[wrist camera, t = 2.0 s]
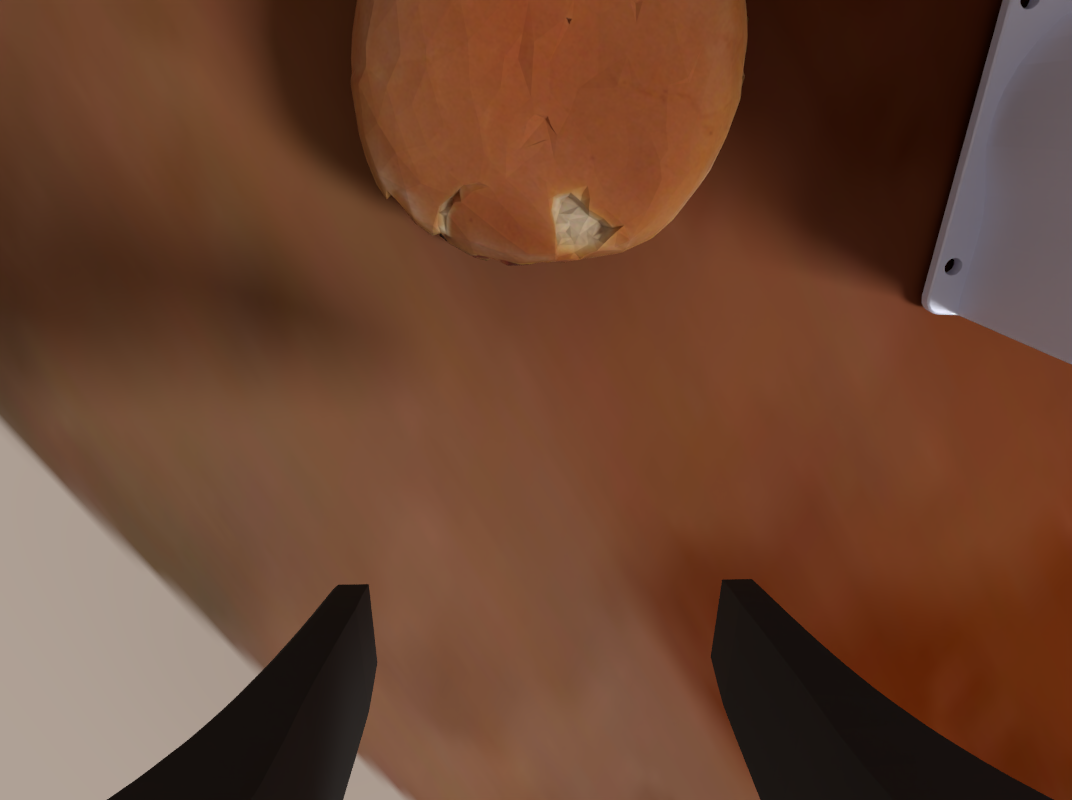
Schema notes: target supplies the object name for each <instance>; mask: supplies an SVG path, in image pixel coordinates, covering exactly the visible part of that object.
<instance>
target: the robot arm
mask: <svg viewBox="0 0 1072 800" xmlns="http://www.w3.org/2000/svg"><path fill="white" fill-rule="evenodd" d="M1020 1H1021V0H1003V1H1002V4H1001V8H1000V12H999V15H998V19H997V23H996V26H995V30H994V34H993V37H992V41H991V45H990V48H989V52H988V56H987V59H986V63H985V67H984V70H983V74H982V78H981V81H980V85H979V89H978V92H977V96H976V100H975V103H974V107H973V111H972V114H971V118H970V121H969V125H968V129H967V132H966V136H965V140H964V143H963V147H962V151H961V154H960V158H959V162H958V165H957V169H956V173H955V176H954V180H953V184H952V187H951V191H950V195H949V198H948V202H947V206H946V209H945V213H944V217H943V220H942V224H941V228H940V231H939V235H938V239H937V242H936V246H935V250H934V253H933V257H932V261H931V264H930V268H929V272H928V275H927V279H926V283H925V286H924V290H923V294H922V301H921V302H922V305H923V307H924V308H925V309H926V310H927V311H929V312H932V313H934V314H938V315H959V316H961V317H964V318H966V319H968V320H971V321H973V322H975V323H977V324H980V325H982V326H984V327H987V328H989V329H991V330H994V331H996V332H998V333H1000V334H1003V335H1005V336H1007V337H1010V338H1012V339H1014V340H1017V341H1019V342H1021V343H1023V344H1026V345H1028V346H1030V347H1033V348H1035V349H1037V350H1040V351H1042V352H1044V353H1046V354H1049V355H1051V356H1053V357H1056V358H1058V359H1060V360H1063V361H1065V362H1067V363H1069V364H1072V0H1030V1H1029V3H1028V5H1027V7H1026V8H1025V9H1024V8H1023V7H1022V6H1021V4H1020ZM951 259H954V265H953V267H952V269H951V270H949V271H948V272H945V265H946V263H947V262H948V261H949V260H951ZM711 659H712V663H713V667H714V671H715V675H716V679H717V683H718V687H719V691H720V694H721V698H722V702H723V705H724V708H725V711H726V713H727V716H728V719H729V721H730V724H731V726H732V729H733V731H734V734H735V736H736V739H737V742H738V744H739V747H740V749H741V752H742V754H743V757H744V759H745V762H746V764H747V767H748V769H749V772H750V774H751V777H752V779H753V782H754V784H755V787H756V789H757V792H758V794H759V797H760V799H761V800H1053V799H1051V798H1049V797H1047V796H1046V795H1044V794H1042V793H1040V792H1038V791H1036V790H1034V789H1032V788H1031V787H1029V786H1027V785H1025V784H1023V783H1021V782H1019V781H1017V780H1016V779H1014V778H1012V777H1010V776H1008V775H1006V774H1005V773H1003V772H1001V771H999V770H998V769H996V768H994V767H992V766H991V765H989V764H987V763H985V762H984V761H982V760H980V759H979V758H977V757H975V756H974V755H972V754H971V753H969V752H967V751H966V750H964V749H962V748H961V747H959V746H958V745H956V744H954V743H953V742H951V741H949V740H948V739H946V738H945V737H943V736H941V735H940V734H938V733H937V732H935V731H934V730H932V729H931V728H929V727H928V726H926V725H925V724H923V723H922V722H920V721H919V720H918V719H916V718H915V717H913V716H912V715H910V714H909V713H908V712H906V711H905V710H903V709H902V708H901V707H899V706H898V705H896V704H895V703H894V702H892V701H891V700H889V699H888V698H887V697H885V696H884V695H883V694H881V693H880V692H879V691H877V690H876V689H875V688H873V687H872V686H871V685H870V684H868V683H867V682H866V681H865V680H864V679H862V678H861V677H860V676H859V675H857V674H856V673H855V672H854V671H852V670H851V669H850V668H849V667H847V666H846V665H845V664H844V663H843V662H841V661H840V660H839V659H838V658H837V657H836V656H834V655H833V654H832V653H831V652H830V651H829V650H828V649H826V648H825V647H824V646H823V645H822V644H821V643H820V642H818V641H817V640H816V639H815V638H814V637H813V636H812V635H811V634H810V633H809V632H807V631H806V630H805V629H804V628H803V627H802V626H801V625H800V624H799V623H798V622H797V621H796V620H794V619H793V618H792V617H791V616H790V615H789V614H788V613H787V612H786V611H785V610H784V609H783V608H782V607H781V606H780V605H779V604H778V603H777V602H775V601H774V600H773V599H772V598H771V597H770V596H769V595H768V594H767V593H766V592H765V591H764V590H763V589H762V588H761V587H760V586H759V585H757V584H756V583H755V582H754V581H753V580H752V579H735V580H722V585H721V592H720V599H719V605H718V612H717V619H716V625H715V632H714V639H713V646H712V652H711ZM376 667H377V656H376V647H375V638H374V629H373V620H372V611H371V602H370V592H369V584H362V585H338V586H336V587H335V588H334V589H333V590H332V592H331V593H330V594H329V595H328V596H327V598H326V599H325V600H324V601H323V602H322V604H321V605H320V606H319V607H318V609H317V610H316V611H315V612H314V613H313V615H312V616H311V617H310V618H309V619H308V620H307V622H306V623H305V624H304V625H303V626H302V628H301V629H300V630H299V631H298V632H297V633H296V635H295V636H294V637H293V638H292V639H291V640H290V641H289V642H288V643H287V645H286V646H285V647H284V648H283V649H282V650H281V651H280V652H279V653H278V655H277V656H276V657H275V658H274V659H273V660H272V661H271V662H270V663H269V664H268V665H267V666H266V667H265V668H264V669H263V671H262V672H261V673H260V674H259V675H258V676H257V677H256V678H255V679H254V680H253V681H252V682H251V683H250V684H249V685H248V686H247V687H246V688H245V689H244V690H243V691H242V692H241V693H240V694H239V695H238V696H237V697H236V698H235V699H234V700H233V701H231V702H230V703H229V704H228V705H227V706H226V707H225V708H224V709H223V710H222V711H221V712H220V713H218V715H216V716H215V717H214V718H213V719H212V720H211V721H210V722H208V723H207V724H206V725H205V726H204V727H203V728H201V730H199V731H198V732H197V733H196V734H195V735H193V736H192V737H191V738H190V739H189V740H187V741H186V742H185V743H184V744H182V745H181V746H180V747H179V748H177V749H176V750H174V751H173V752H172V753H171V754H169V755H168V756H167V757H165V758H164V759H163V760H161V761H160V762H159V763H158V764H156V765H155V766H154V767H152V768H151V769H150V770H148V771H147V772H146V773H145V774H143V775H142V776H140V777H139V778H138V779H136V780H135V781H134V782H132V783H131V784H129V785H128V786H126V787H125V788H123V789H122V790H121V791H119V792H118V793H116V794H115V795H113V796H112V797H110V798H109V799H107V800H343V798H344V794H345V791H346V787H347V784H348V781H349V778H350V774H351V771H352V768H353V764H354V761H355V758H356V754H357V751H358V747H359V744H360V740H361V737H362V734H363V730H364V727H365V723H366V720H367V716H368V713H369V707H370V702H371V696H372V691H373V685H374V679H375V673H376Z"/></svg>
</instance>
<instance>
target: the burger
mask: <svg viewBox="0 0 1072 800" xmlns="http://www.w3.org/2000/svg"><path fill="white" fill-rule="evenodd" d="M748 20H749V17H747V10H746V0H357V4H356V10H355V17H354V24H353V31H352V47H351V67H352V75H351V80H350V83H351V89H352V96H353V102H354V108H355V114H356V120H357V126H358V133H359V136H360V140H361V143H362V147H363V150H364V154H365V157H366V160H367V163H368V165H369V168H370V170H371V172H372V175H373V177H374V179H375V182H376V184H377V186H378V188H379V189H380V191H381V192H382V194H383V195H384V197H385V198H386V199H388V198H389V197H390V196H391V195H392V196H393V197H394V198H395V199H396V200H397V201H398V203H399V204H400V205H401V206H402V207H403V209H404V210H405V211H406V212H407V213H408V215H409V216H410V217H411V218H412V220H413V221H414V222H415V223H416V224H417V225H419V226H420V227H421V228H423V229H424V230H426V231H427V232H428V233H430V234H431V235H432V236H433V235H436V234H439V233H440V236H441V237H442V238H444V239H445V240H446V241H448V242H449V244H451V245H453V246H455V247H456V248H458V249H460V250H462V251H463V252H465V253H467V254H469V255H471V256H473V257H475V258H478V259H482V260H489V259H494V260H497V261H500V262H502V263H504V264H506V265H529V264H534V263H539V262H546V263H549V262H569V261H575V260H580V259H584V258H593V257H600V256H606V255H612V254H618V253H622V252H624V251H626V250H628V249H631V248H633V247H635V246H637V245H639V244H641V243H643V242H646V241H648V240H650V239H652V238H653V237H654V236H655V235H656V234H658V233H659V232H660V231H661V230H662V229H663V228H664V227H665V226H667V225H668V224H669V223H670V222H671V221H672V220H673V219H674V218H675V217H676V215H677V214H678V213H679V211H680V210H681V209H682V208H683V206H684V205H685V204H686V202H687V201H688V200H689V199H690V197H691V196H692V195H693V193H694V192H695V191H696V190H697V188H698V187H699V186H700V184H701V183H702V181H703V180H704V179H705V177H706V176H707V174H708V173H709V171H710V170H711V168H712V166H713V164H714V162H715V159H716V157H717V155H718V153H719V151H720V149H721V147H722V145H723V143H724V141H725V139H726V137H727V134H728V132H729V129H730V126H731V124H732V121H733V118H734V115H735V113H736V110H737V107H738V104H739V102H740V98H741V87H742V84H743V81H744V78H745V75H744V72H743V68H744V61H745V53H746V51H747V38H748V32H747V25H748Z"/></svg>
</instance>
